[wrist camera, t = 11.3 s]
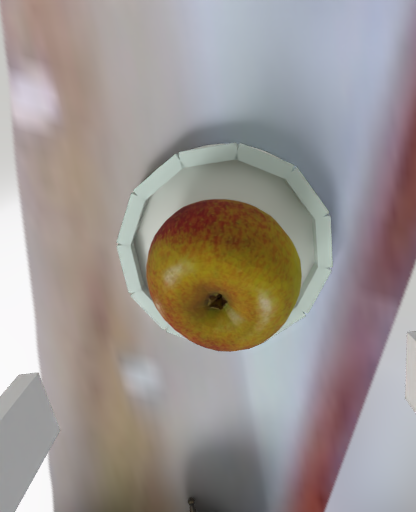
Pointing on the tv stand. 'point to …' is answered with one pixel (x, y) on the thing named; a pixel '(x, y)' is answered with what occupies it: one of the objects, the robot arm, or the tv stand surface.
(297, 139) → the tv stand surface
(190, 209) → the fruit
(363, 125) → the tv stand surface
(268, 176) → the dish
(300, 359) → the tv stand surface
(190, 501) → the alarm clock
